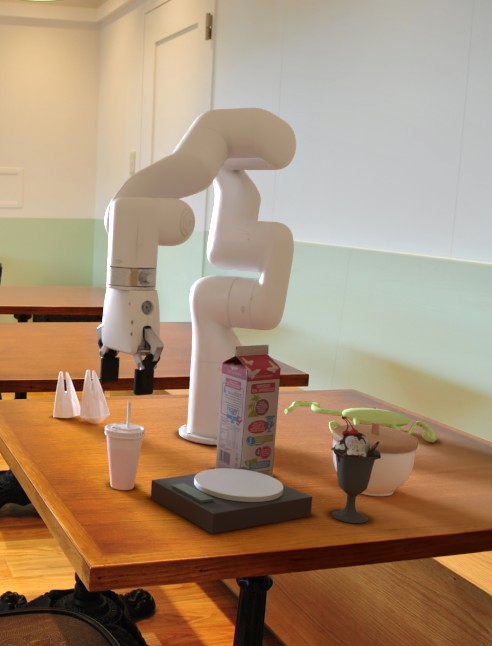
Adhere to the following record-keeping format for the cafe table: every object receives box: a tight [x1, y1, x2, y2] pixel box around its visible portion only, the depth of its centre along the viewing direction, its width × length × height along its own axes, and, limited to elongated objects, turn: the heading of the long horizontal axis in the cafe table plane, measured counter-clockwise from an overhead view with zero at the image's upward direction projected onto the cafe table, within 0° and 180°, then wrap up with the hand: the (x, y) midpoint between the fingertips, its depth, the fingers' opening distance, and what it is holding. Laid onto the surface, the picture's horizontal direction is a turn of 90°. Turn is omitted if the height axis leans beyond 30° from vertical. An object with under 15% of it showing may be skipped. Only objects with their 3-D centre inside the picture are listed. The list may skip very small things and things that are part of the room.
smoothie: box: [103, 400, 146, 491], centre depth 132 cm, size 6×6×14 cm
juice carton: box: [215, 344, 281, 477], centre depth 139 cm, size 7×7×22 cm
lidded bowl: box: [331, 422, 419, 497], centre depth 134 cm, size 13×13×11 cm
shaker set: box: [52, 369, 111, 425], centre depth 172 cm, size 12×4×11 cm, turn 53°
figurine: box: [283, 400, 437, 443], centre depth 167 cm, size 18×27×6 cm
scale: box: [150, 467, 313, 535], centre depth 125 cm, size 18×15×4 cm
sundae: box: [330, 416, 381, 524], centre depth 121 cm, size 7×7×15 cm
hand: (125, 388), depth 130 cm, fingers open, 9 cm apart
